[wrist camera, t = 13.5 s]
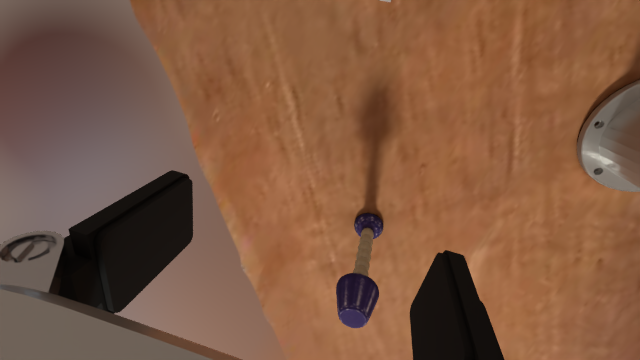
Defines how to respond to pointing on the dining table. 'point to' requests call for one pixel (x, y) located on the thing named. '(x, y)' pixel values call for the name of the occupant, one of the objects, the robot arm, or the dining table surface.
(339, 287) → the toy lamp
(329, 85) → the dining table surface
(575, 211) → the dining table surface
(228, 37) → the dining table surface
